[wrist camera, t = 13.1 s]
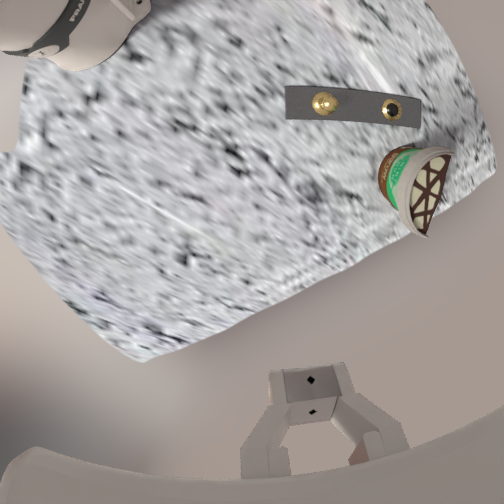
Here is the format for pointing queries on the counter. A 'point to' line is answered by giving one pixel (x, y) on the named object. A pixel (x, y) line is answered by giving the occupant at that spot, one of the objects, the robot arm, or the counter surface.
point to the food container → (414, 183)
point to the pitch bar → (351, 106)
